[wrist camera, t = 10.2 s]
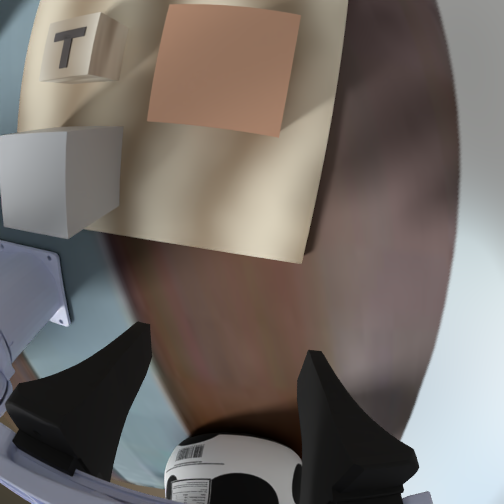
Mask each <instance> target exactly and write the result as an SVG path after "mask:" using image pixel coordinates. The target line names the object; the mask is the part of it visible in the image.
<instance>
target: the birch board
mask: <svg viewBox="0 0 504 504" xmlns="http://www.w3.org/2000/svg"><path fill="white" fill-rule="evenodd" d="M170 4H211V5H229V6H242V7H251V8H260V9H267V10H274V11H281V12H287V13H292V14H298V15H301V19H300V25H299V30H298V36H297V41H296V47H295V53H294V58H293V64H292V69H291V75H290V80H289V86H288V91H287V97H286V102H285V108H284V113H283V118H282V124H281V129H280V135H279V138H277V137H272V136H266V135H260V134H254V133H248V132H242V131H235V130H228V129H221V128H213V127H205V126H196V125H186V124H175V123H163V122H149V121H147V117H148V110H149V103H150V96H151V90H152V84H153V78H154V72H155V67H156V62H157V56H158V52H159V47H160V42H161V38H162V33H163V29H164V25H165V20H166V16H167V12H168V8H169V5H170ZM347 7H348V0H41V1H40V4H39V7H38V10H37V14H36V17H35V21H34V25H33V28H32V32H31V37H30V41H29V46H28V50H27V55H26V61H25V66H24V72H23V79H22V86H21V94H20V103H19V114H18V129H17V133H18V132H24V131H31V130H38V129H46V128H54V127H69V126H124V127H123V138H122V151H121V168H120V193H119V206H118V207H117V208H115V209H113V210H112V211H110V212H109V213H107V214H106V215H104V216H102V217H101V218H99V219H98V220H96V221H95V222H93V223H92V224H90V225H89V226H87V227H85V228H84V229H86V230H92V231H98V232H105V233H111V234H117V235H123V236H129V237H135V238H142V239H148V240H154V241H160V242H166V243H173V244H179V245H185V246H191V247H198V248H204V249H210V250H216V251H223V252H229V253H235V254H242V255H248V256H254V257H261V258H267V259H274V260H280V261H286V262H293V263H299V264H302V259H303V255H304V251H305V247H306V242H307V238H308V233H309V229H310V225H311V220H312V215H313V211H314V206H315V201H316V197H317V192H318V187H319V182H320V177H321V172H322V167H323V162H324V157H325V152H326V146H327V141H328V135H329V130H330V124H331V119H332V113H333V107H334V101H335V95H336V88H337V82H338V75H339V69H340V62H341V55H342V48H343V40H344V32H345V24H346V16H347ZM98 12H102V13H104V14H106V15H107V16H109V17H111V18H113V19H114V20H116V21H118V22H120V23H121V24H123V25H125V26H126V27H128V28H129V30H128V34H127V39H126V44H125V49H124V54H123V60H122V65H121V71H120V78H119V81H107V82H93V83H82V84H65V83H54V82H41V81H39V77H40V70H41V64H42V59H43V54H44V49H45V44H46V39H47V35H48V31H49V27H50V24H51V23H55V22H58V21H62V20H66V19H70V18H74V17H78V16H83V15H88V14H93V13H98Z"/></svg>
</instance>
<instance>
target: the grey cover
mask: <svg viewBox="0 0 504 504" xmlns="http://www.w3.org/2000/svg"><path fill="white" fill-rule="evenodd" d="M123 127H124V126H69V127H54V128H46V129H38V130H31V131H24V132H18V133H12V134H6V135H1V136H0V191H1V204H2V214H3V222H4V227H8V228H13V229H18V230H23V231H28V232H33V233H38V234H43V235H48V236H54V237H59V238H64V239H69V238H71V237H72V236H74V235H75V234H77V233H78V232H80V231H81V230H82V229H84V228H85V227H87V226H89V225H90V224H92V223H93V222H95V221H96V220H98V219H99V218H101V217H102V216H104V215H106V214H107V213H109V212H110V211H112V210H113V209H115V208H117V207H118V206H119V193H120V168H121V151H122V138H123Z"/></svg>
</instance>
